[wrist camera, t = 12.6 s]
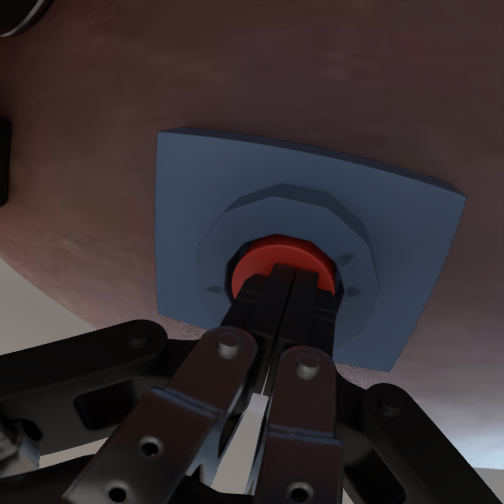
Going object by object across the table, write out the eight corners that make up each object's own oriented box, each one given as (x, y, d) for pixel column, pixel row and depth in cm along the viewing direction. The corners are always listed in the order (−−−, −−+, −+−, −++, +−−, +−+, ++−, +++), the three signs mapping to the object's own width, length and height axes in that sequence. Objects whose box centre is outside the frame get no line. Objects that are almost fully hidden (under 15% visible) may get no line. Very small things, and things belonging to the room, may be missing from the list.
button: (240, 295, 13) (227, 319, 12) (250, 216, 12) (236, 233, 10) (322, 315, 13) (319, 343, 11) (346, 237, 11) (347, 259, 9)
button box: (176, 291, 17) (140, 335, 14) (182, 126, 13) (130, 137, 10) (386, 343, 15) (391, 400, 12) (449, 182, 11) (487, 212, 8)
